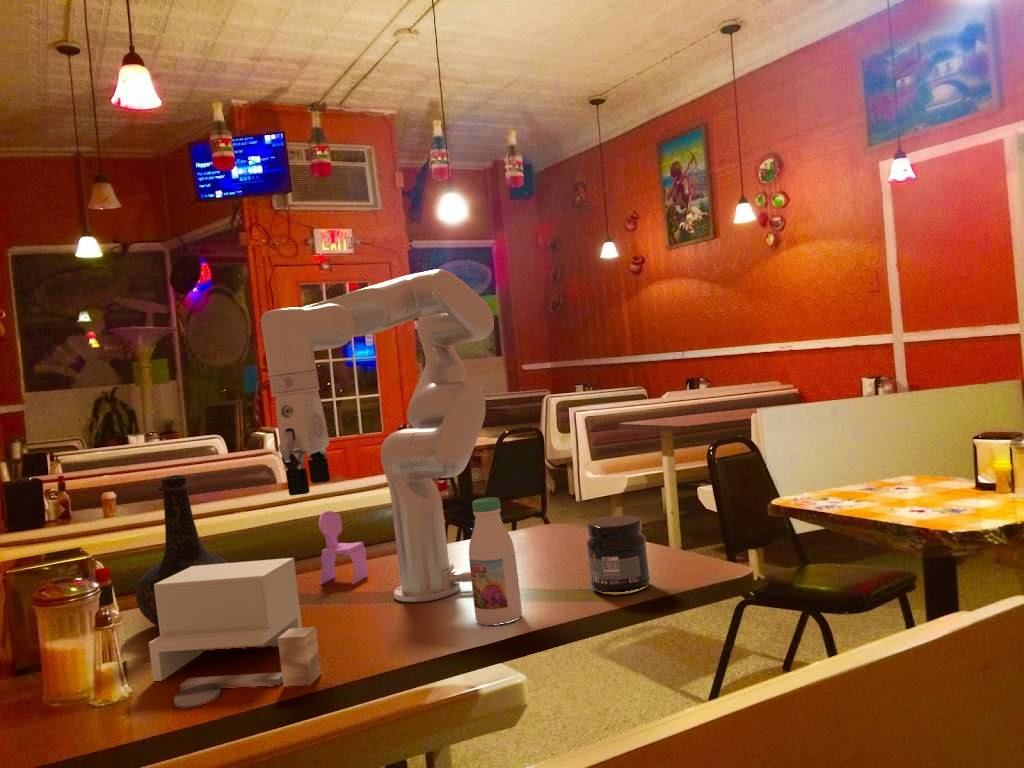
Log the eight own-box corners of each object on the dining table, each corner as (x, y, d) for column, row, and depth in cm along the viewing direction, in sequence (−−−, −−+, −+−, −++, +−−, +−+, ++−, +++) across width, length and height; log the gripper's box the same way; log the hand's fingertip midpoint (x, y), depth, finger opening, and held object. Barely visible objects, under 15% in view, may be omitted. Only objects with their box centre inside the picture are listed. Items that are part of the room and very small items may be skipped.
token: (227, 690, 114) (226, 682, 114) (209, 708, 108) (208, 699, 108) (187, 694, 115) (186, 686, 115) (166, 712, 109) (165, 703, 109)
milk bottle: (500, 609, 138) (487, 494, 137) (532, 615, 132) (518, 495, 132) (466, 622, 132) (452, 502, 132) (498, 629, 127) (484, 504, 127)
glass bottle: (229, 602, 164) (213, 466, 164) (251, 619, 149) (234, 470, 149) (134, 625, 155) (116, 481, 154) (148, 646, 139) (128, 486, 139)
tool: (321, 674, 116) (315, 626, 116) (310, 686, 112) (304, 636, 112) (192, 682, 118) (187, 635, 118) (177, 693, 114) (171, 645, 114)
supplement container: (635, 576, 149) (628, 512, 149) (661, 589, 139) (653, 521, 139) (582, 586, 146) (575, 521, 146) (604, 601, 136) (597, 530, 136)
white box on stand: (303, 641, 132) (293, 557, 132) (266, 675, 118) (254, 581, 118) (201, 648, 134) (192, 566, 134) (153, 682, 121) (142, 590, 120)
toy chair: (353, 585, 166) (344, 514, 166) (316, 586, 169) (308, 516, 169) (372, 574, 174) (364, 506, 174) (336, 575, 177) (328, 508, 177)
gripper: (296, 385, 121) (314, 496, 122) (334, 378, 138) (349, 475, 139) (250, 391, 122) (267, 502, 123) (292, 383, 139) (307, 480, 140)
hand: (310, 488), depth 131 cm, fingers open, 9 cm apart
